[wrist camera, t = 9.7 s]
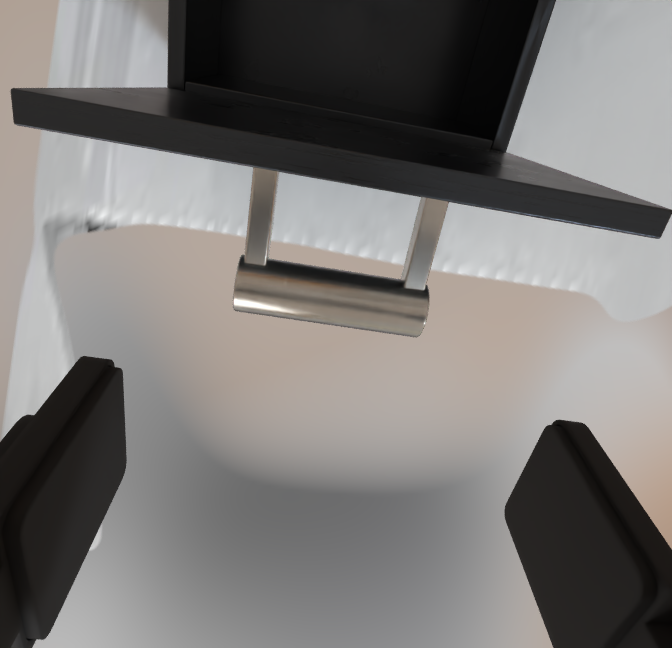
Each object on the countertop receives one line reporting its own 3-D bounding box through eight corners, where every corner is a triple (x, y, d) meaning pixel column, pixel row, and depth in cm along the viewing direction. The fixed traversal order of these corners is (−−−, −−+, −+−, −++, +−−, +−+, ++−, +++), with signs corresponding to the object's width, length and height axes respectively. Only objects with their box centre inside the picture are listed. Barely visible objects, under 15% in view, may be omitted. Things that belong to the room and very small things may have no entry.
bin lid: (8, 87, 11) (31, 309, 14) (674, 210, 13) (590, 387, 15) (164, 87, 22) (161, 208, 25) (509, 153, 24) (475, 260, 26)
